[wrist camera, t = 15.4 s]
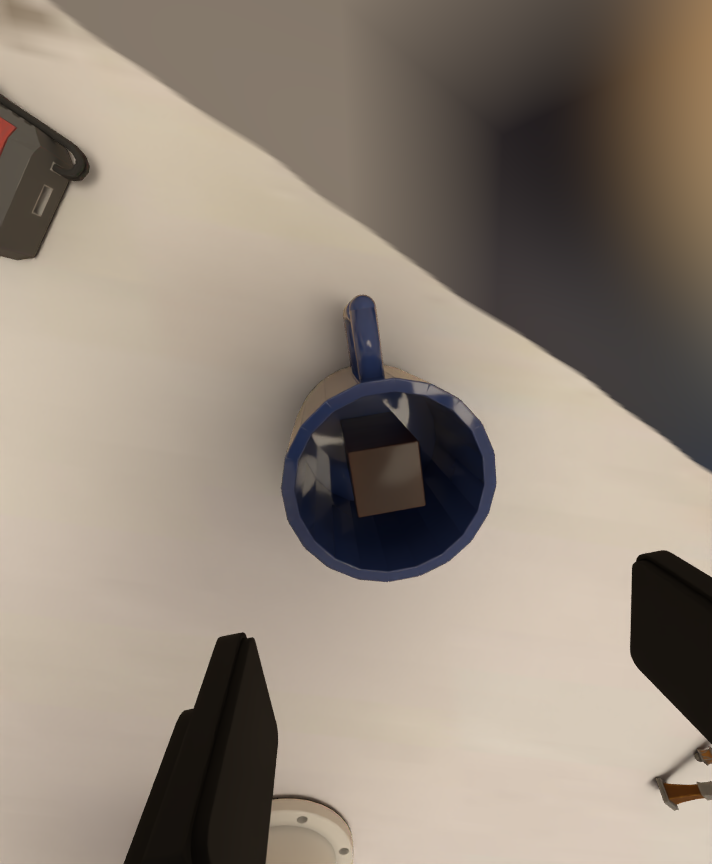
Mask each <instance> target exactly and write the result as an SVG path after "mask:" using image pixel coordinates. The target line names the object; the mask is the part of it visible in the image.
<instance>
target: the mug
mask: <svg viewBox="0 0 712 864" xmlns="http://www.w3.org/2000/svg"><path fill="white" fill-rule="evenodd" d="M343 318H344V324H345V331H346V337H347V344H348V350H349V357H350V363H351V366H349V367H346V368H344V369H341V370H338V371H337V372H335V373H333V374H331V375H329V376H328V377H326V378H325V379H324V380H322V381H321V382H320V383H319V384H318V385H317V386H316V387H315V388H314V389H313V390H312V391H311V392H310V394H309V395H308V396H307V397H306V399H305V401H304V403H303V405H302V407H301V409H300V411H299V413H298V415H297V418H296V421H295V424H294V428H293V431H292V435H291V438H290V442H289V445H288V449H287V452H286V456H285V461H284V469H283V477H282V485H281V492H282V497H283V502H284V506H285V511H286V515H287V520H288V522H289V524H290V525H291V527H292V529H293V530H294V532H295V534H296V535H297V537H298V538H299V540H300V542H301V543H302V545H303V546H304V547H305V549H306V550H308V551H309V552H310V553H311V554H312V555H314V556H315V557H316V558H317V559H319V560H320V561H321V562H322V563H323V564H325V565H326V566H327V567H329V568H331V569H333V570H336V571H338V572H341V573H343V574H346V575H348V576H351V577H353V578H356V579H359V580H370V581H381V582H388V581H389V582H391V581H396V580H402V579H407V578H412V577H418V576H419V575H420V576H421V575H423V574H425V573H427V572H429V571H431V570H433V569H435V568H437V567H439V566H441V565H443V564H445V563H447V561H448V562H449V561H450V560H451V559H452V558H453V557H454V556H456V555H457V554H458V553H459V552H460V551H461V550H462V549H463V548H465V547H466V546H467V545H468V544H469V543H470V542H471V540H473V538H474V536H475V535H476V533H477V532H478V530H479V528H480V527H481V525H482V524H483V522H484V520H485V519H486V517H487V516H488V514H489V511H490V507H491V503H492V499H493V496H494V492H495V488H496V469H495V454H494V450H493V448H492V445H491V443H490V441H489V438H488V436H487V434H486V431H485V429H484V426H483V424H481V421H480V420H479V419H478V418H477V417H476V416H475V415H474V414H473V413H472V411H471V410H470V409H469V408H468V407H467V406H466V405H465V404H464V403H463V402H462V401H461V400H460V399H459V398H457V397H455V396H454V395H452V394H450V393H448V392H446V391H444V390H442V389H440V388H439V387H437V386H435V385H433V384H431V383H429V382H427V381H424V380H422V379H420V378H418V377H416V376H414V375H411V374H409V373H407V372H405V371H403V370H401V369H398V368H396V367H391V366H387V365H383V358H382V350H381V342H380V335H379V327H378V319H377V312H376V305H375V302H374V301H373V299H372V298H371V297H369V296H367V295H358V296H356V297H354V298H353V299H352V300H351V301H350V302H349V303H348V304H347V305H346V307H345V308H344V311H343ZM386 412H393V413H394V414H395V416H396V417H397V418H398V419H399V420H400V421H401V422H402V423H403V424H404V426H405V427H406V428H407V429H408V430H409V431H410V432H411V433H412V434H413V435H414V437H415V438H416V439H417V440H418V441H419V448H420V457H421V466H422V475H423V483H424V492H425V501H426V505H425V506H422V507H416V508H411V509H405V510H399V511H394V512H388V513H383V514H377V515H372V516H366V517H360V518H359V517H358V515H357V510H356V506H355V501H354V496H353V491H352V486H351V481H350V476H349V471H348V465H347V459H346V453H345V447H344V441H343V435H342V429H341V423H340V421H341V420H344V419H350V418H356V417H362V416H368V415H374V414H380V413H386Z"/></svg>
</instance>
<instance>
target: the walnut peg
mask: <svg viewBox="0 0 712 864" xmlns="http://www.w3.org/2000/svg"><path fill="white" fill-rule="evenodd" d="M340 423H341V429H342V435H343V441H344V447H345V453H346V459H347V465H348V471H349V476H350V481H351V486H352V491H353V496H354V501H355V506H356V510H357V515H358V517H359V518H360V517H366V516H372V515H377V514H383V513H388V512H394V511H399V510H405V509H411V508H416V507H422V506H425V505H426V501H425V492H424V483H423V475H422V466H421V457H420V448H419V441H418V440H417V439H416V438H415V437H414V435H413V434H412V433H411V432H410V431H409V430H408V429H407V428H406V427H405V426H404V424H403V423H402V422H401V421H400V420H399V419H398V418H397V417H396V416H395V414H394V413H393V412H386V413H380V414H374V415H368V416H362V417H356V418H350V419H344V420H341V421H340Z"/></svg>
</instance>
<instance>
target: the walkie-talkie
mask: <svg viewBox="0 0 712 864" xmlns="http://www.w3.org/2000/svg"><path fill="white" fill-rule="evenodd" d="M54 140H55V141H54ZM57 142H58V143H57ZM60 144H61V145H62V146H61V145H60ZM63 146H64V147H65V148H67V149H68V150H69V151H70V152H71V153H72V154H73V155H74V157H75V159H76V164H75V165H74V166H73V164H72V162H71V159H70V156H69V154H68V151H67V149H65V148H64V147H63ZM88 173H89V163H88V160H87V158H86V156H85V155H84V153H83V152H82V151H81V150H80V149H79V148H78V147H77V146H76V145H74V144H73V143H72V142H71V141H69V140H68V139H66V138H65V137H63V136H62V135H60V134H59V133H57V132H56V131H54V130H53V129H51V128H50V127H48V126H47V125H45V124H44V123H42V122H41V121H39V120H38V119H36V118H35V117H33V116H32V115H30V114H29V113H27V112H26V111H24V110H23V109H21V108H20V107H18V106H17V105H15V104H14V103H12V102H11V101H9V100H8V99H6V98H5V97H4V96H2V95H1V94H0V256H3V257H7V258H11V259H15V260H21V259H27V258H33V257H35V255H36V252H37V250H38V248H39V246H40V244H41V241H42V239H43V237H44V235H45V233H46V230H47V228H48V226H49V224H50V221H51V219H52V217H53V215H54V213H55V210H56V208H57V206H58V204H59V202H60V199H61V197H62V195H63V193H64V191H65V188H66V186H67V184H68V182H69V180H72V181H80V180H82V179H83V178H84V177H85V176H86V175H87V174H88Z"/></svg>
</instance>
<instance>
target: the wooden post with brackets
mask: <svg viewBox="0 0 712 864" xmlns="http://www.w3.org/2000/svg"><path fill="white" fill-rule="evenodd" d="M708 747H709V749H706V750H699V749H697V750H698V753H696V754H695V759H696V760H697V761H699V762H704V763H705V764H706V765H707V766H708V765H709V764H711V763H712V748H711V747H710V746H708ZM656 781H657V784H658V787H659V789H660V792H661V795H662V798H663V801H664V803H665V804H666V805H668V806H669V807H670V808H672V809H673V810H674V811H675V810H679V809H678V806H677V804H679V803H682V802H686V801H690V800H695V799H701V798H705V799H707V800H712V782H711V781H710V782H702V783H700V782H697V784H695V785H680V784H667V783H666V782H664V781H663V780H662V779H660V778H659V779H657V778H656Z"/></svg>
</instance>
